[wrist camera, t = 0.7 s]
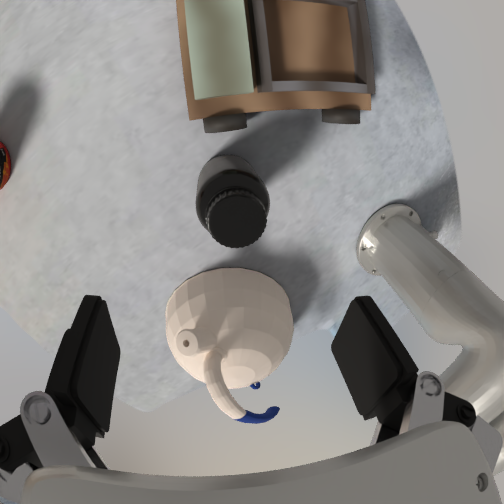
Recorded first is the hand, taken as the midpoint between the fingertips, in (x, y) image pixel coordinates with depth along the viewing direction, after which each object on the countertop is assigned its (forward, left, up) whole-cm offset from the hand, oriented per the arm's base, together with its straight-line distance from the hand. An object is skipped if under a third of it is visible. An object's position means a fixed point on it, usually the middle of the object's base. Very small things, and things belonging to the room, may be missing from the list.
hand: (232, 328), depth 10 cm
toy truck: (-8, -14, -24) cm, 29 cm away
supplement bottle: (-1, +2, -25) cm, 25 cm away
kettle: (+2, +24, -25) cm, 34 cm away
